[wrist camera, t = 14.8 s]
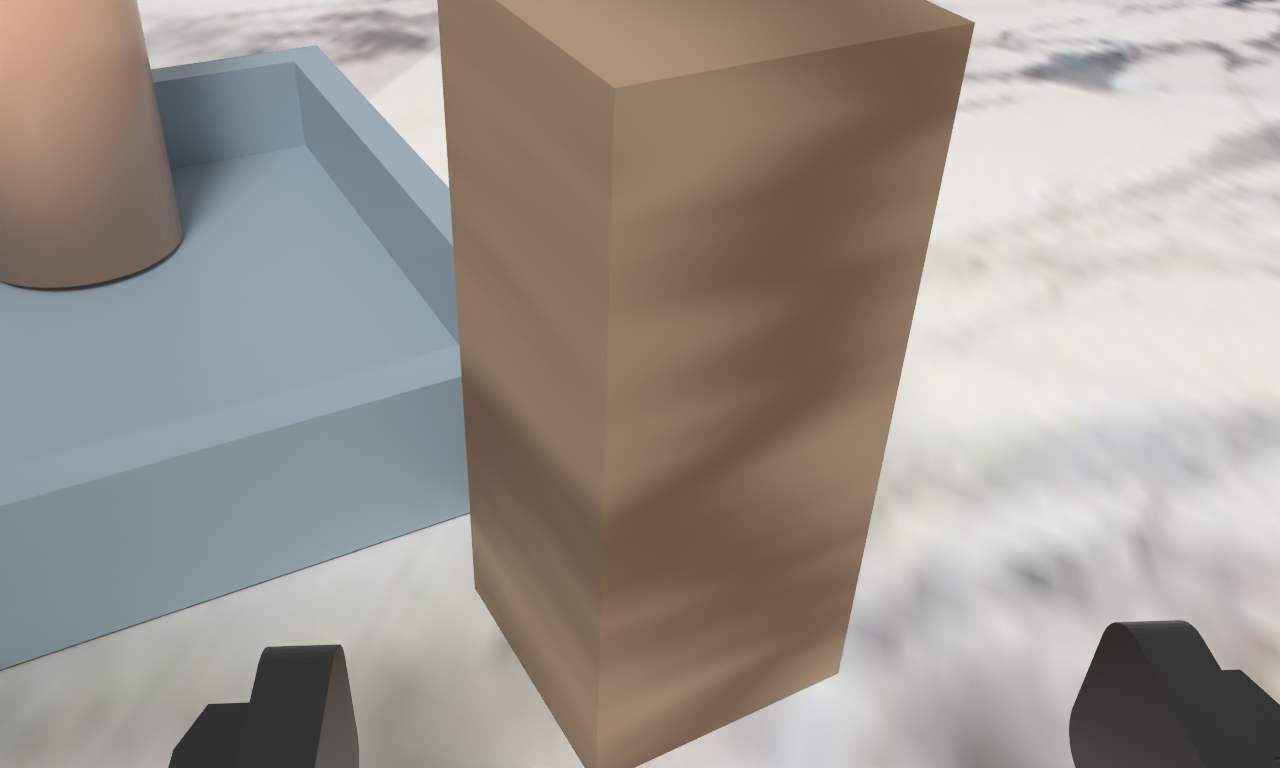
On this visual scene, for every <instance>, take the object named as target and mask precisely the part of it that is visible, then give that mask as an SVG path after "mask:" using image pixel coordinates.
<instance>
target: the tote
mask: <svg viewBox="0 0 1280 768" xmlns="http://www.w3.org/2000/svg"><path fill="white" fill-rule="evenodd" d="M151 74H152V79H153V84H154V89H155V94H156V99H157V104H158V109H159V114H160V119H161V124H162V129H163V134H164V139H165V144H166V149H167V154H168V159H169V164H170V169H171V174H172V179H173V184H174V189H175V194H176V199H177V204H178V209H179V214H180V219H181V224H182V229H183V235H182V238H181V241H180V243H179V244H178V245H177V247H176V248H175V249H174V250H173V251H172V252H171V253H170V254H168V255H167V256H166V257H164V258H163V259H161V260H160V261H158V262H156V263H155V264H153V265H151V266H149V267H147V268H145V269H142V270H140V271H137V272H135V273H132V274H129V275H126V276H123V277H120V278H116V279H112V280H108V281H104V282H99V283H94V284H88V285H81V286H72V287H57V288H41V287H27V286H20V285H14V284H10V283H6V282H3V281H0V670H2V669H5V668H8V667H11V666H13V665H16V664H19V663H22V662H25V661H28V660H31V659H34V658H37V657H40V656H43V655H46V654H49V653H52V652H55V651H58V650H61V649H64V648H67V647H70V646H73V645H76V644H79V643H82V642H85V641H88V640H91V639H94V638H97V637H100V636H103V635H106V634H109V633H112V632H115V631H118V630H121V629H124V628H127V627H130V626H133V625H136V624H139V623H142V622H145V621H148V620H151V619H154V618H157V617H160V616H163V615H166V614H169V613H172V612H175V611H177V610H180V609H183V608H186V607H189V606H192V605H195V604H198V603H201V602H204V601H207V600H210V599H213V598H216V597H219V596H222V595H225V594H228V593H231V592H234V591H237V590H240V589H243V588H246V587H249V586H252V585H255V584H258V583H261V582H264V581H267V580H270V579H273V578H276V577H279V576H282V575H285V574H288V573H291V572H294V571H297V570H300V569H303V568H306V567H309V566H312V565H315V564H318V563H321V562H324V561H327V560H330V559H333V558H336V557H339V556H341V555H344V554H347V553H350V552H353V551H356V550H359V549H362V548H365V547H368V546H371V545H374V544H377V543H380V542H383V541H386V540H389V539H392V538H395V537H398V536H401V535H404V534H407V533H410V532H413V531H416V530H419V529H422V528H425V527H428V526H431V525H434V524H437V523H440V522H443V521H446V520H449V519H452V518H455V517H458V516H461V515H464V514H467V513H470V501H469V485H468V469H467V454H466V438H465V422H464V407H463V391H462V375H461V360H460V344H459V328H458V313H457V297H456V281H455V266H454V250H453V235H452V219H451V203H450V189H449V188H448V187H447V186H446V185H445V184H444V183H443V181H442V180H441V179H440V178H439V177H438V176H437V175H436V174H435V173H434V172H433V171H432V170H431V168H430V167H429V166H428V165H427V164H426V163H425V162H424V161H423V160H422V159H421V158H420V157H419V155H418V154H417V153H416V152H415V151H414V150H413V149H412V148H411V147H410V146H409V145H408V144H407V143H406V141H405V140H404V139H403V138H402V137H401V136H400V135H399V134H398V133H397V132H396V131H395V130H394V128H393V127H392V126H391V125H390V124H389V123H388V122H387V121H386V120H385V119H384V118H383V117H382V115H381V114H380V113H379V112H378V111H377V110H376V109H375V108H374V107H373V106H372V105H371V104H370V103H369V101H368V100H367V99H366V98H365V97H364V96H363V95H362V94H361V93H360V92H359V91H358V90H357V88H356V87H355V86H354V85H353V84H352V83H351V82H350V81H349V80H348V79H347V78H346V77H345V75H344V74H343V73H342V72H341V71H340V70H339V69H338V68H337V67H336V66H335V65H334V64H333V63H332V61H331V60H330V59H329V58H328V57H327V56H326V55H325V54H324V53H323V52H322V51H321V50H320V48H319V47H318V46H310V47H303V48H296V49H289V50H283V51H276V52H269V53H262V54H255V55H248V56H242V57H235V58H228V59H221V60H214V61H207V62H200V63H194V64H187V65H180V66H173V67H166V68H159V69H153V70H151Z"/></svg>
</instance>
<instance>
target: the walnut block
mask: <svg viewBox="0 0 1280 768" xmlns="http://www.w3.org/2000/svg"><path fill="white" fill-rule="evenodd" d="M438 15H439V31H440V47H441V62H442V78H443V94H444V109H445V125H446V141H447V156H448V172H449V188H450V203H451V219H452V235H453V250H454V266H455V281H456V297H457V313H458V328H459V344H460V360H461V375H462V391H463V407H464V422H465V438H466V454H467V469H468V485H469V501H470V516H471V532H472V548H473V563H474V579H475V589H476V590H477V592H478V594H479V595H480V597H481V598H482V600H483V602H484V603H485V605H486V607H487V608H488V610H489V612H490V613H491V615H492V616H493V618H494V620H495V621H496V623H497V625H498V626H499V628H500V630H501V631H502V633H503V634H504V636H505V638H506V639H507V641H508V643H509V644H510V646H511V647H512V649H513V651H514V652H515V654H516V656H517V657H518V659H519V661H520V662H521V664H522V665H523V667H524V669H525V670H526V672H527V674H528V675H529V677H530V679H531V680H532V682H533V683H534V685H535V687H536V688H537V690H538V692H539V693H540V695H541V697H542V698H543V700H544V701H545V703H546V705H547V706H548V708H549V710H550V711H551V713H552V715H553V716H554V718H555V719H556V721H557V723H558V724H559V726H560V728H561V729H562V731H563V733H564V734H565V736H566V737H567V739H568V741H569V742H570V744H571V746H572V747H573V749H574V750H575V752H576V754H577V755H578V757H579V759H580V760H581V762H582V764H583V765H584V767H585V768H634V767H636V766H639V765H641V764H643V763H645V762H647V761H649V760H651V759H654V758H656V757H658V756H660V755H662V754H664V753H667V752H669V751H671V750H673V749H675V748H677V747H680V746H682V745H684V744H686V743H688V742H690V741H693V740H695V739H697V738H699V737H701V736H703V735H705V734H708V733H710V732H712V731H714V730H716V729H718V728H721V727H723V726H725V725H727V724H729V723H731V722H734V721H736V720H738V719H740V718H742V717H744V716H746V715H749V714H751V713H753V712H755V711H757V710H759V709H762V708H764V707H766V706H768V705H770V704H772V703H775V702H777V701H779V700H781V699H783V698H785V697H787V696H790V695H792V694H794V693H796V692H798V691H800V690H803V689H805V688H807V687H809V686H811V685H813V684H816V683H818V682H820V681H822V680H824V679H826V678H828V677H831V676H833V675H835V674H837V673H838V671H839V666H840V661H841V657H842V652H843V647H844V642H845V638H846V633H847V628H848V623H849V619H850V614H851V609H852V604H853V600H854V595H855V590H856V585H857V581H858V576H859V571H860V566H861V562H862V557H863V552H864V547H865V542H866V538H867V533H868V528H869V523H870V519H871V514H872V509H873V504H874V500H875V495H876V490H877V485H878V481H879V476H880V471H881V466H882V462H883V457H884V452H885V447H886V443H887V438H888V433H889V428H890V424H891V419H892V414H893V409H894V405H895V400H896V395H897V390H898V386H899V381H900V376H901V371H902V367H903V362H904V357H905V352H906V348H907V343H908V338H909V333H910V328H911V324H912V319H913V314H914V309H915V305H916V300H917V295H918V290H919V286H920V281H921V276H922V271H923V267H924V262H925V257H926V252H927V248H928V243H929V238H930V233H931V229H932V224H933V219H934V214H935V210H936V205H937V200H938V195H939V191H940V186H941V181H942V176H943V172H944V167H945V162H946V157H947V153H948V148H949V143H950V138H951V134H952V129H953V124H954V119H955V114H956V110H957V105H958V100H959V95H960V91H961V86H962V81H963V76H964V72H965V67H966V62H967V57H968V53H969V48H970V43H971V38H972V34H973V29H974V24H975V23H974V22H972V21H970V20H968V19H966V18H963V17H961V16H959V15H957V14H955V13H952V12H950V11H948V10H946V9H944V8H941V7H939V6H937V5H935V4H933V3H930V2H928V1H926V0H438Z"/></svg>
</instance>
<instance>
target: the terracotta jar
mask: <svg viewBox="0 0 1280 768" xmlns="http://www.w3.org/2000/svg"><path fill="white" fill-rule="evenodd" d="M182 235H183V229H182V224H181V219H180V214H179V209H178V204H177V199H176V194H175V189H174V184H173V179H172V174H171V169H170V164H169V159H168V154H167V149H166V144H165V139H164V134H163V129H162V124H161V119H160V114H159V109H158V104H157V99H156V94H155V89H154V84H153V79H152V74H151V69H150V64H149V59H148V54H147V49H146V44H145V39H144V34H143V29H142V24H141V19H140V14H139V9H138V4H137V0H0V281H3V282H6V283H10V284H14V285H20V286H27V287H41V288H57V287H72V286H81V285H88V284H94V283H99V282H104V281H108V280H112V279H116V278H120V277H123V276H126V275H129V274H132V273H135V272H137V271H140V270H142V269H145V268H147V267H149V266H151V265H153V264H155V263H156V262H158V261H160V260H161V259H163V258H164V257H166V256H167V255H168V254H170V253H171V252H172V251H173V250H174V249H175V248H176V247H177V245H178V244H179V243H180V241H181V238H182Z"/></svg>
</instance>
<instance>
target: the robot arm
mask: <svg viewBox="0 0 1280 768" xmlns="http://www.w3.org/2000/svg"><path fill="white" fill-rule="evenodd" d="M1069 738H1070V747H1071V753H1072V757H1073V761H1074V764H1075V767H1076V768H1280V705H1279V704H1278V703H1277V702H1276V701H1275V700H1274V699H1273V698H1271V697H1270V696H1269V695H1268V694H1267V693H1266V692H1265V691H1264V690H1263V689H1261V688H1260V687H1259V686H1258V685H1257V684H1256V683H1255V682H1254V681H1252V680H1251V679H1250V678H1249V677H1248V676H1247V675H1246V674H1245V673H1243V672H1242V671H1241V670H1221V668H1220V667H1219V665H1218V663H1217V662H1216V660H1215V658H1214V657H1213V655H1212V653H1211V652H1210V650H1209V648H1208V647H1207V645H1206V643H1205V642H1204V640H1203V638H1202V637H1201V635H1200V634H1199V632H1198V631H1197V630H1196V629H1195V628H1194V627H1193V626H1192V625H1191V624H1189V623H1188V622H1185V621H1181V620H1174V621H1143V622H1115V623H1112V624H1110V625H1109V626H1108V627H1107V628H1106V629H1105V631H1104V633H1103V635H1102V638H1101V640H1100V642H1099V645H1098V647H1097V650H1096V652H1095V655H1094V657H1093V660H1092V662H1091V664H1090V667H1089V669H1088V672H1087V674H1086V677H1085V679H1084V681H1083V684H1082V686H1081V689H1080V691H1079V694H1078V696H1077V699H1076V701H1075V703H1074V706H1073V708H1072V712H1071V716H1070V723H1069ZM168 768H359V748H358V736H357V729H356V723H355V717H354V711H353V705H352V698H351V692H350V686H349V680H348V674H347V668H346V662H345V656H344V651H343V648H342V646H341V645H312V646H281V647H266V648H265V649H264V651H263V653H262V655H261V658H260V661H259V664H258V668H257V673H256V677H255V681H254V686H253V690H252V694H251V699H250V703H226V704H208V705H207V706H206V708H205V709H204V710H203V712H202V713H201V714H200V716H199V717H198V718H197V720H196V721H195V722H194V724H193V725H192V726H191V727H190V729H189V730H188V731H187V733H186V734H185V735H184V737H183V738H182V739H181V741H180V742H179V743H178V745H177V746H176V747H175V749H174V750H173V753H172V757H171V760H170V764H169V767H168Z"/></svg>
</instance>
